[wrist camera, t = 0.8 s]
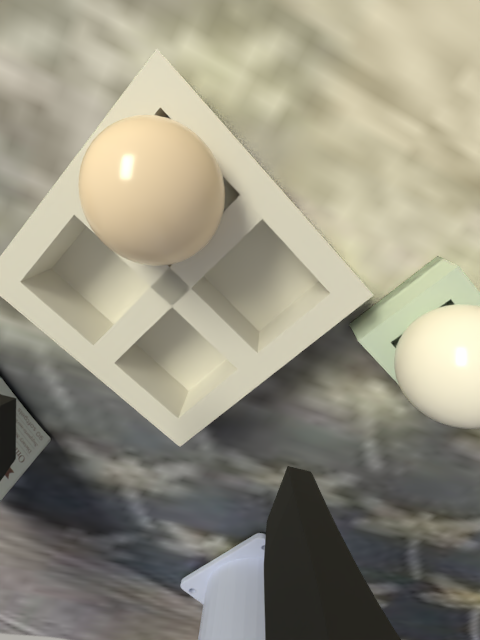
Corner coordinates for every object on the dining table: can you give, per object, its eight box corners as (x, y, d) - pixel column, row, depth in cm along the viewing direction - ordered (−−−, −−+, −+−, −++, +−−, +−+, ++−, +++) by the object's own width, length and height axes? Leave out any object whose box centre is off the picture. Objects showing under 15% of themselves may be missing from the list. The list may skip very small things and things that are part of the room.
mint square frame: (497, 330, 18) (523, 348, 16) (409, 389, 19) (423, 412, 17) (437, 255, 17) (458, 266, 15) (349, 324, 18) (358, 340, 16)
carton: (357, 276, 17) (373, 295, 15) (192, 410, 21) (179, 446, 18) (178, 72, 15) (156, 48, 12) (25, 264, 18) (-18, 280, 16)
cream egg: (512, 343, 16) (603, 406, 12) (420, 403, 18) (469, 478, 13) (451, 266, 15) (525, 303, 11) (358, 336, 17) (390, 394, 12)
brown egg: (256, 193, 14) (250, 201, 10) (176, 274, 16) (140, 312, 12) (167, 94, 13) (116, 54, 9) (91, 190, 15) (14, 196, 10)
